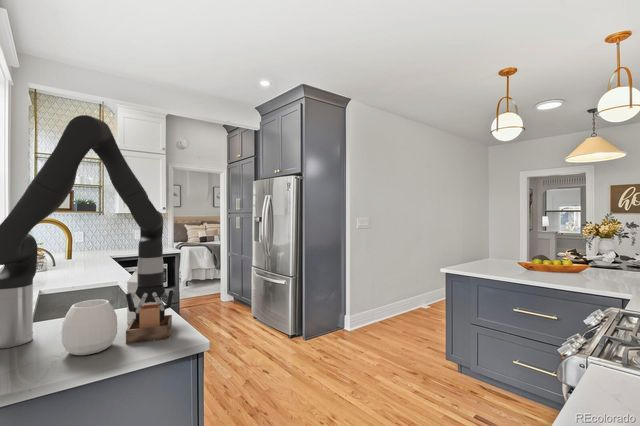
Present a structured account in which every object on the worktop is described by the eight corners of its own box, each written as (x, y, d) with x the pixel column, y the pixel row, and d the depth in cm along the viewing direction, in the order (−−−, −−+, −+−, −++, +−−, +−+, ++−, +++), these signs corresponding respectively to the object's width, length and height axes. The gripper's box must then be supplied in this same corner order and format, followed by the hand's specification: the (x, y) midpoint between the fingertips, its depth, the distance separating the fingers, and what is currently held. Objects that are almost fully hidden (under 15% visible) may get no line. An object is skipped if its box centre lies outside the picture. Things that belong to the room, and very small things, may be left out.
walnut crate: (125, 344, 99) (125, 330, 99) (132, 330, 110) (132, 318, 110) (169, 338, 103) (169, 325, 103) (171, 326, 114) (171, 314, 114)
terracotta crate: (139, 332, 103) (139, 309, 103) (142, 326, 108) (142, 304, 108) (159, 329, 105) (159, 307, 105) (160, 324, 110) (160, 303, 110)
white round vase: (128, 343, 99) (128, 298, 99) (88, 362, 86) (88, 311, 86) (92, 339, 102) (92, 296, 102) (48, 357, 89) (48, 308, 89)
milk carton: (144, 325, 115) (144, 271, 115) (126, 324, 116) (127, 270, 116) (158, 319, 122) (158, 267, 122) (141, 317, 123) (141, 267, 123)
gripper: (122, 274, 100) (122, 329, 100) (174, 271, 105) (174, 323, 105) (127, 270, 107) (127, 321, 107) (175, 267, 112) (175, 316, 112)
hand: (150, 322), depth 106 cm, fingers closed on terracotta crate, 5 cm apart
